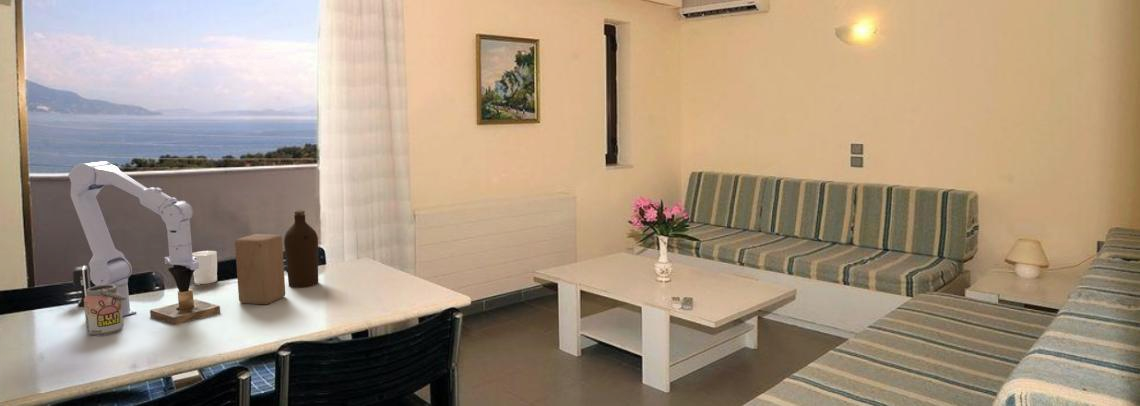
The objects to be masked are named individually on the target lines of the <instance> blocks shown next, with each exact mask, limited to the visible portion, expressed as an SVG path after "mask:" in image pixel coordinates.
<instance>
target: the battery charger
mask: <svg viewBox="0 0 1140 406" xmlns="http://www.w3.org/2000/svg"><path fill="white" fill-rule="evenodd" d="M72 286H73V287H75V288H76V287H77V288H78V290H81V295H82V296H81V298H79V300H78V302H77V305H78V306H79V307H83V306H84V298H85V297H86V295H87V292H86V290H87V289H88V288H91V278H90V268H89V265H82V266H76V267H74V269H73V271H72Z"/></svg>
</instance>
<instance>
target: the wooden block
mask: <svg viewBox="0 0 1140 406" xmlns="http://www.w3.org/2000/svg"><path fill="white" fill-rule="evenodd" d="M234 246H235V247H234V248H235V261H236V262H235V263H236V277H237V279H236V280H237V289H238V293H237V294H238V301H239V303H240V304H251V305H253V304H254V305H269V304H270V303H273V302H275V301H277V300H280V299H283V298H285V296H286V283H285V267H284V266H285V265H284V250H283V249H284V248H283V236H282V235H280V234H271V233H270V234H268V233H266V234H265V233H254V234H250V235H247V236H242V237H239V238H237V239H235V241H234Z"/></svg>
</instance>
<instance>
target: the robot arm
mask: <svg viewBox="0 0 1140 406" xmlns="http://www.w3.org/2000/svg"><path fill="white" fill-rule="evenodd" d="M67 175H68V178H69V181H70V198H71V201H72V204H73V205H74V208H75V211H76V214H77V216H78V219H79V221H80V224H81V227H82V229H83V233H84V234H85V235H84V236H85V237H86V240H87V242H88V243H87V244H88V245H89V249H90V250H91V252H92V257H91V259H90V261H89V262H88V268H89V278H90V282H92V283H93V284H94V286H100V285H115V286H116V287H117V290H116V291H117V292H118V293H119V294H121V295H123V296H125V297H126V299H125V300H121V303H122V314H123V317H124V316H129V315H134V314H136V313H137V312H138V311H136V310H134V309H131V307H130V295H129V287H128V286H129V285H128V282H129V278H130V276H132V272H133V268H132V265H131V263H130V262H129V261H128V260H127V258H126V257H125V254H124V253H123V252H122V251H120V250H118V249H117V248H116V247H115V244H114V241H113V239H112V236H111V234H110V232H109V231H110V230H109V229H108V226H107V223H106V221H105V217H104V215H103V213H102V209H101V207H100V205H99V201H98V199H97V195H98V194H99V193H100V191H101V190H102V189H103V188H104V187H106V186H108V185H110V186H111V185H112V186H114V187H117V188H118V189H120V190H122V191H124V192H127V193H128V194H130V195H132V196H134V197H136V198H138V200H139V203H140V205H142V206H144V207H145V208H147V209H149V210H151V211H152V212H154V213H156V214H157V215H159V216H160V217H161V219H162V221H163V222H164V223H165V228H166V232H167V245H168V256H165V257H164V264H165V265H171V266H172V267H169V268H168V272H169V273H170V274H171V276H172V278H173V279H174V282H175V284H176V287H177V289H178V291H179V292H184V291H189V289H190V285H191V281H192V277H193V276H194V275H193V272H194V271H195V269H199V262H196V261H195V260H197V258H196V257H193V256H192V253H193V247H192V233H191V221H190V219H192V217H193V215H194V209H193V207H192V205H191V204H190V203H189V202H188V201H185V200H178V199H177V198H176V197H171V196H170V195H168V194H166V193H165V192H163V189H162V188H160V187H153V186H152V187H146V186H144V185H143V184H142V183H140V182H138V181H137V180H135V179H133V178H132V177H131V176H129V175H128V174H126V173H125V172H123V171H121V170H120V169H119V167H118V166H116V165H114V164H111V163H110V162H109V161H105V160H99V161H96V162H95V161H93V162H88V163H87V162H85V163H77V164H75V166H73V167H72V169H71V171H70V172H69V173H68V174H67Z"/></svg>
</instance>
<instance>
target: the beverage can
mask: <svg viewBox="0 0 1140 406" xmlns="http://www.w3.org/2000/svg"><path fill="white" fill-rule="evenodd" d="M116 290H117V287H116V286H115V285H100V286H96V285H93V286H90V288H88V289H87V290H86V292H87V295H86V297H85V298H84V315H85V325H86V332H87V333H88V334H89V335H90V336H94V337H97V336H98V337H99V336H102V337H103V336H108V335H113V334H116V333H119V332H120V331H122V329H123V328H124V316H123V314H122V303H121V300H125V299H126V297H125V296H123V295H121V294H119V293H118V292H117V291H116Z"/></svg>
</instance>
